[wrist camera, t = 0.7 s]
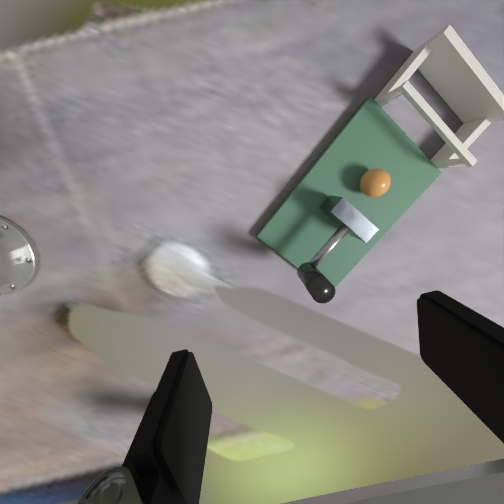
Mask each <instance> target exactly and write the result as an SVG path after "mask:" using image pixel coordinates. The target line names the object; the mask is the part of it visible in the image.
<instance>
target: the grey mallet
mask: <svg viewBox="0 0 504 504" xmlns="http://www.w3.org/2000/svg"><path fill="white" fill-rule="evenodd" d="M319 208H320V209H321V210H322V211H323V212H324V213H326V214H327V215H328V216H329V217H330V218H331V219H332V220H334V221H335V222H336V223H337V224H338V225H339V226H340V227H339V228H338V229H337V230H336V231H335V233H334V234H333V235H332V236H331V237H330V238H329V239H328V241H327V242H326V243H325V244H324V245H323V246H322V247H321V249H320V250H319V251H318V252H317V253H316V254H315V255H314V257H313V258H312V259H311V260H310V261H309V262H306V263H303V264H301V265H300V266H299V268H298V271H297V273H298V276H299V278H300V279H301V281H302V282H303V284H304V285H305V287H306V288H307V290H308V291H309V293H310V294H311V296H312V297H313V299H314V300H315V301H316V302H318V303H327V302H329V301H330V300H331V299H332V298H333V297H334V295H335V287H334V286H333V284H332V283H331V282H330V281H329V280H328V279H327V278H326V277H325V276H324V275H323V274H322V273H321V272H320V270H319V269H318V268H317V267H318V266H319V265H320V264H321V263H322V261H323V260H324V259H325V258H326V257H327V256H328V255H329V254H330V252H331V251H332V250H333V249H334V248H335V247H336V246H337V245H338V244H339V242H340V241H341V240H342V239H343V238H344V237H345V236H346V235H347V233H349V234H350V235H351V236H353V237H355V238H357V239H359V240H361V241H363V242H366V243H367V242H368V241H369V240H370V239H371V238H372V237H373V236H374V234H375V233H376V232H377V231H378V230H379V229H378V228H377V227H376V226H375V225H373V224H372V223H371V222H370V221H369V220H368V219H367V218H366V217H365V216H364V215H362V214H361V213H360V212H359V211H358V210H357V209H356V208H355V207H354V206H353V205H351V204H350V203H349V202H348V201H347V200H346V199H345V198H344V197H339V196H333V195H329V197H328V198H327V199H326V200H325V201H324V203H323V204H322V205H321V206H320V207H319Z"/></svg>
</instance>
